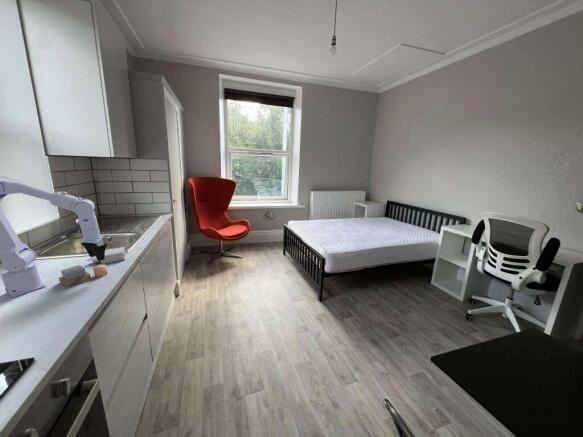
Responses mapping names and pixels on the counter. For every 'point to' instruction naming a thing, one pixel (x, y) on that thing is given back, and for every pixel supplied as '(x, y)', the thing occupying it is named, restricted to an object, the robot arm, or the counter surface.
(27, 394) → the counter surface
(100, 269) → the cylinder
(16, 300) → the counter surface
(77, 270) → the upper block
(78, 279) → the base slab
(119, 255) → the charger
